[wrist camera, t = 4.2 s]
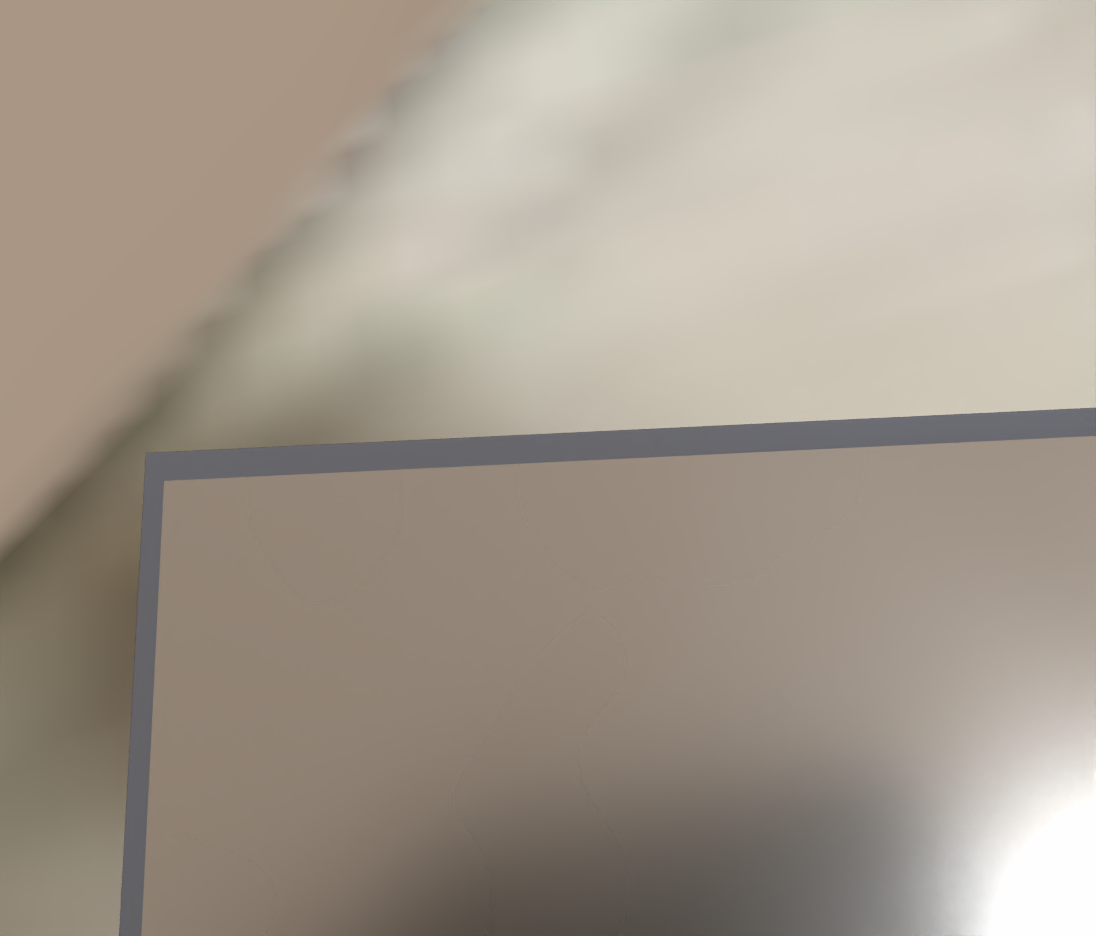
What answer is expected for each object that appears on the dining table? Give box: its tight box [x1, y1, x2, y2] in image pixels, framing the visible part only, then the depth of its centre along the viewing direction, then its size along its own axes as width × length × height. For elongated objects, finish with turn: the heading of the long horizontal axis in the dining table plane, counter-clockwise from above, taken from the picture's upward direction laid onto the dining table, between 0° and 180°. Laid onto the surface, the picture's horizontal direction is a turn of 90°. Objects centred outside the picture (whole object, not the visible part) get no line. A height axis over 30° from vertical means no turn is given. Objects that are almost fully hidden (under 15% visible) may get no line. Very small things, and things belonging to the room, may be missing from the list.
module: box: [119, 408, 1096, 936], centre depth 9 cm, size 5×5×13 cm
